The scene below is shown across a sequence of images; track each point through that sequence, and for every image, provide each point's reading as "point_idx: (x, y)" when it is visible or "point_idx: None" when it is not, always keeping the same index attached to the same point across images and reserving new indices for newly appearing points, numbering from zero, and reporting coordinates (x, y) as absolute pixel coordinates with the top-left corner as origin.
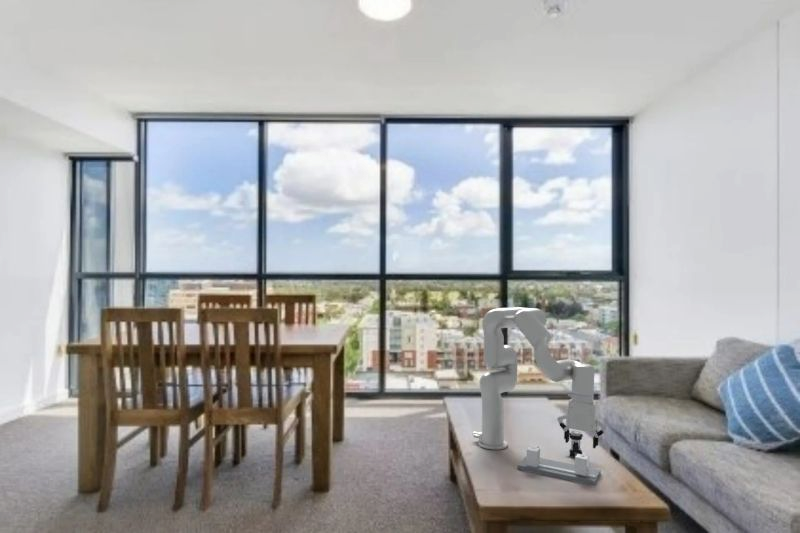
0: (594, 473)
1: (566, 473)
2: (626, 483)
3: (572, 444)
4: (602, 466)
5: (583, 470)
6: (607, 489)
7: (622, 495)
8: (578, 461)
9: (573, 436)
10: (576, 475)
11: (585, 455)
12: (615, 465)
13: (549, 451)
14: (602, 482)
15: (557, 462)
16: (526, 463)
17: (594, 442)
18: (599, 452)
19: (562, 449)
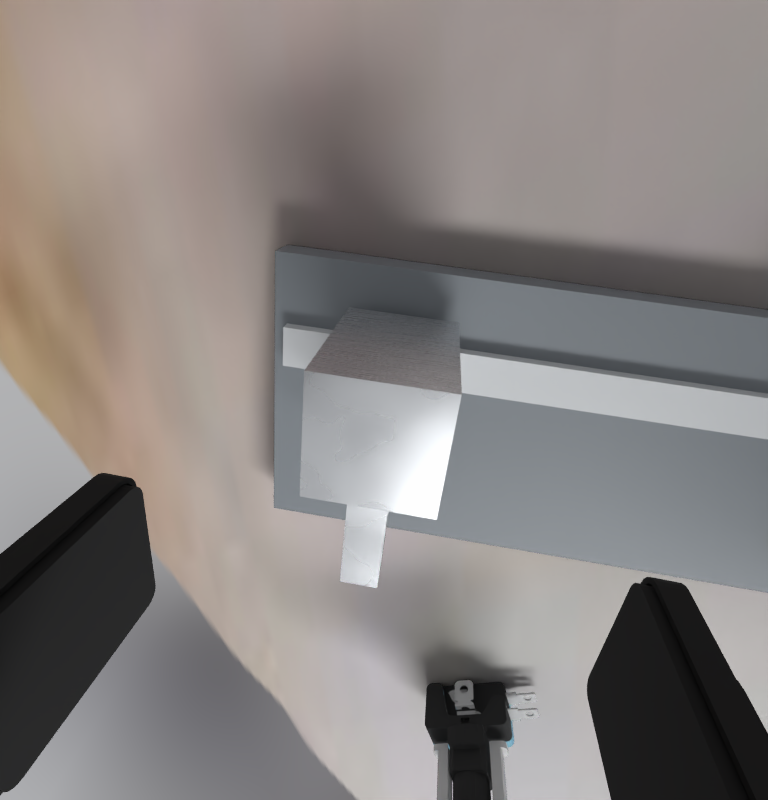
0: None
1: (541, 334)
2: (95, 390)
3: (495, 781)
4: (293, 602)
5: (371, 324)
6: (178, 205)
7: (43, 123)
8: (419, 365)
9: None
10: None
11: (339, 493)
12: (227, 632)
13: None
14: (243, 341)
15: (613, 544)
16: None
17: (16, 551)
18: (338, 759)
19: (551, 763)
